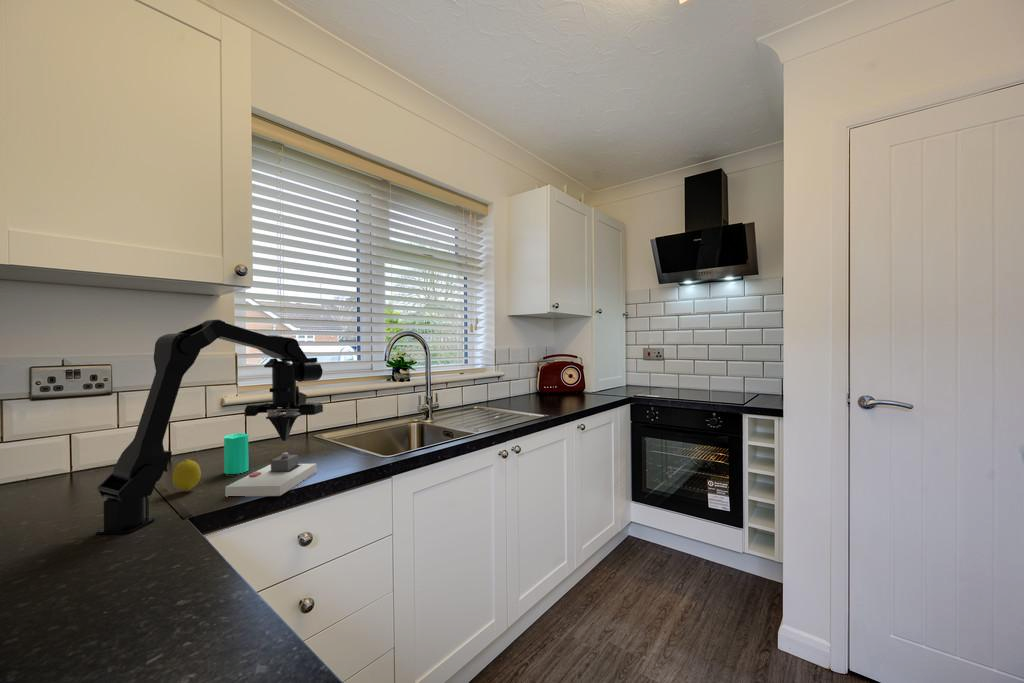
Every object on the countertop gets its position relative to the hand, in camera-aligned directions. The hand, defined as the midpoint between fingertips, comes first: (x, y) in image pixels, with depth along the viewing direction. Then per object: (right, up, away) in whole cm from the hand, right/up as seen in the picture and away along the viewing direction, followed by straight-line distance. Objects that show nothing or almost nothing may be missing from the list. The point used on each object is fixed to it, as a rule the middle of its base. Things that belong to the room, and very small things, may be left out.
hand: (284, 440), depth 115 cm
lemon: (-19, -10, -10) cm, 24 cm away
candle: (-17, -11, +6) cm, 21 cm away
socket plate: (0, -10, -5) cm, 11 cm away
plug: (0, -10, 0) cm, 10 cm away
